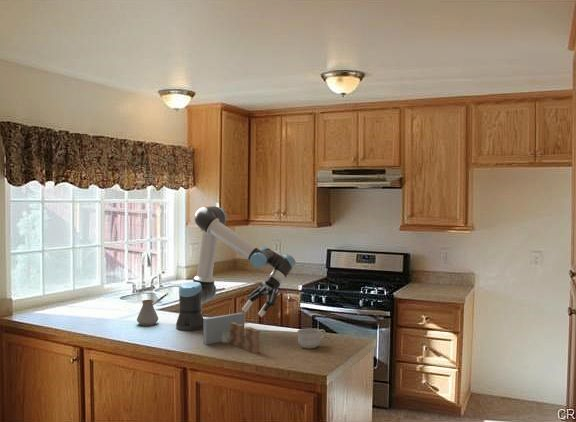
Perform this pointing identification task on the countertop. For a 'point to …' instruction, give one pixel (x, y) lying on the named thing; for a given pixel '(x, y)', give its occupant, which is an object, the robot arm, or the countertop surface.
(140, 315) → the coffee pot
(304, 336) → the teacup
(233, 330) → the walnut board
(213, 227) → the robot arm
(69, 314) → the countertop surface
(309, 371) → the countertop surface
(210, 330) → the slate plate
